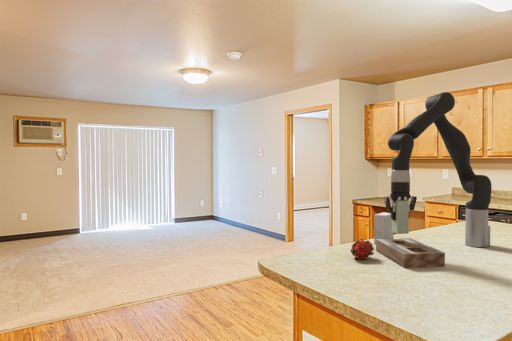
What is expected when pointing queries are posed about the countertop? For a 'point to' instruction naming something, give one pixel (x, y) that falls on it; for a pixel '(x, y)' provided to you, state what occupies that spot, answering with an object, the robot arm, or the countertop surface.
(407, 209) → the square peg
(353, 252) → the dragon fruit
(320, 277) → the countertop surface
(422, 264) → the block
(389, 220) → the skincare box
